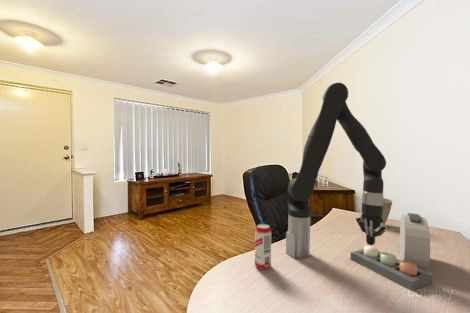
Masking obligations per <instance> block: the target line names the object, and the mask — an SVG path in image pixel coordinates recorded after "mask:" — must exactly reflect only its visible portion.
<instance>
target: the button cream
mask: <svg viewBox="0 0 470 313" xmlns="http://www.w3.org/2000/svg"><path fill="white" fill-rule="evenodd" d="M363 249H364V255H365V256H367V257H370V258H372V259H375V258H378V251H379V249H378V248H377V247H376V246H374V245H369V244H367V245H363Z"/></svg>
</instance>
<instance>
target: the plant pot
mask: <svg viewBox="0 0 470 313" xmlns="http://www.w3.org/2000/svg"><path fill="white" fill-rule="evenodd" d="M383 202H384V203H383V216H382V219H383V223H384V225H385V226H386V223H387V221H388V219H389V216H390V212H391V209H392V204H393V200H391V199H389V198H385V197H384V201H383ZM379 227H380V226H379ZM379 227H378V228H379Z"/></svg>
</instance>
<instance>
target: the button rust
mask: <svg viewBox="0 0 470 313" xmlns="http://www.w3.org/2000/svg"><path fill="white" fill-rule="evenodd" d="M400 260H401V259H400ZM399 271H400V272H402V273H404V274H406V275H408V276H410V277H412V278H413V277H415V276H417V265H416V264H415V263H413V262H410V261H405V260H401V261H400V267H399Z"/></svg>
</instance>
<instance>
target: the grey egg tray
mask: <svg viewBox="0 0 470 313" xmlns="http://www.w3.org/2000/svg"><path fill="white" fill-rule="evenodd" d="M382 252H383V251H382ZM382 252H381V251H379V250H378V258H375V259H372V258H370V257H367V256H365V255H364V248H363V249H359V250H354V251H351V252H350V260H351V261H353V262H355V263H357V264H359V265H360V266H362V267H365V268H367V269H369V270H370V271H371V272H374V273H376V274H378V275H380V276H382V277H384V278H385V279H387V280H390V281H392V282H394V283H395V284H398V285H400V286H402V287H403V288H405V289H407V290H409V291H411V292H413V291H416V290H418V289H420V288H423V287H424V286H425V287H426V286H427V284H428V285H430V284H432V283H433V281H434V280H433V278H434V275H433V273H431V272H429V271H424V270H422V269H420V268H417V276H415V277H413V278H412V277H410V276H408V275H406V274H404V273H402V272H400V271H399V267H400V261H401V259H398V258H396V266H394V267H389V266H387V265H385V264H382V263H380V253H382Z"/></svg>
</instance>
